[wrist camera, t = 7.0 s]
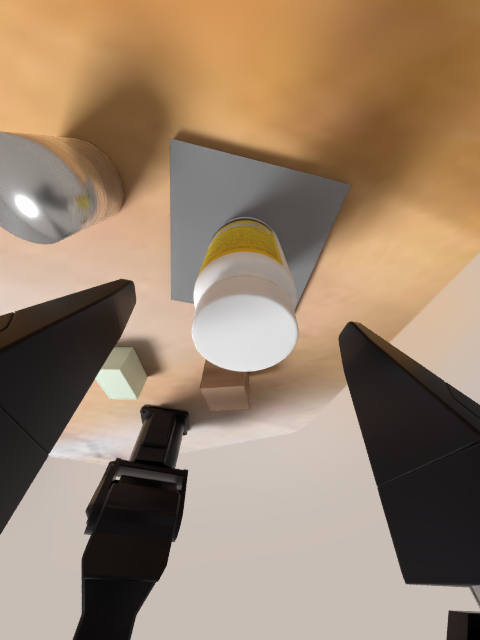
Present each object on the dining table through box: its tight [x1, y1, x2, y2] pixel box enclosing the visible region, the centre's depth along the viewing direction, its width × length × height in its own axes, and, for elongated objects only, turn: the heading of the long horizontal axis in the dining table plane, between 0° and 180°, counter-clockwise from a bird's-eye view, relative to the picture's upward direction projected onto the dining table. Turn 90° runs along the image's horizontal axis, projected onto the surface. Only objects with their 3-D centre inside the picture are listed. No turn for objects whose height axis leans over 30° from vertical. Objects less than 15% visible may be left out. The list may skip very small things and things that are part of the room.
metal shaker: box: [0, 132, 124, 244], centre depth 11 cm, size 4×4×5 cm
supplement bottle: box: [192, 217, 298, 372], centre depth 11 cm, size 5×5×8 cm
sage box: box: [95, 347, 147, 399], centre depth 22 cm, size 5×3×3 cm, turn 1°
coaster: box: [170, 138, 351, 308], centre depth 14 cm, size 10×10×1 cm
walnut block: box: [200, 359, 249, 411], centre depth 21 cm, size 4×4×4 cm
